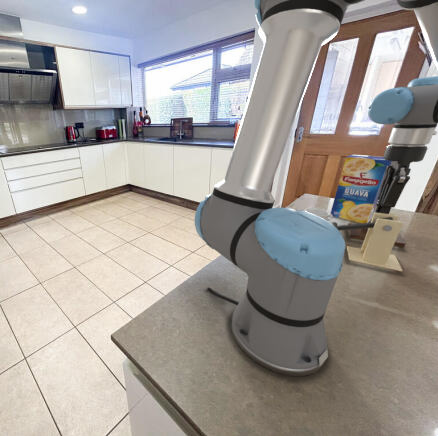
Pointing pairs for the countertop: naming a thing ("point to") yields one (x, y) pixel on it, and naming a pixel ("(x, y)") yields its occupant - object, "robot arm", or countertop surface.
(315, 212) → the teacup
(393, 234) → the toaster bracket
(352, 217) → the beverage box
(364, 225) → the lever
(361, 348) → the countertop surface
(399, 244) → the control block
